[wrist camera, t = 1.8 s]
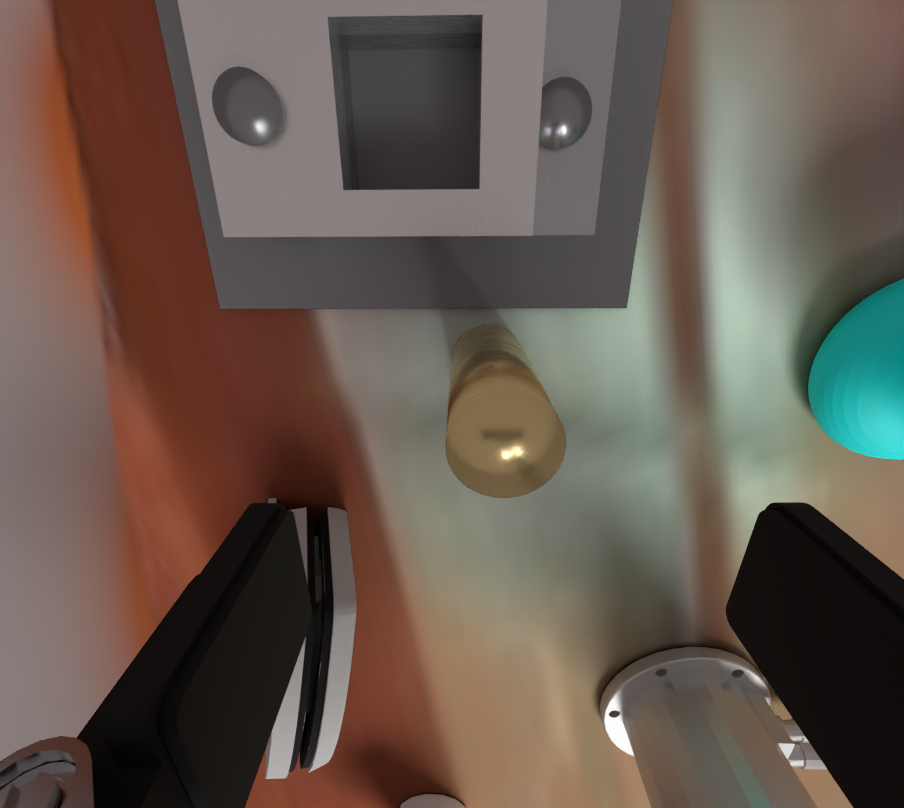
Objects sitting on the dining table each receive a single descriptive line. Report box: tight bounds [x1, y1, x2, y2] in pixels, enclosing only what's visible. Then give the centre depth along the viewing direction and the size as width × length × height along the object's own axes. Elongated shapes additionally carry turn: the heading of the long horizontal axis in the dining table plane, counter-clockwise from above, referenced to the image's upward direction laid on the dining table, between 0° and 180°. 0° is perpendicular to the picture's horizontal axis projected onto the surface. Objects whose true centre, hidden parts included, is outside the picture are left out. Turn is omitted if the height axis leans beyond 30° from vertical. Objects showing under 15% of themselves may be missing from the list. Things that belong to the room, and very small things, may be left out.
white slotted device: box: [265, 498, 356, 779], centre depth 27 cm, size 17×5×10 cm, turn 167°
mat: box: [155, 0, 673, 309], centre depth 19 cm, size 21×16×1 cm
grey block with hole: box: [177, 0, 621, 237], centre depth 17 cm, size 16×9×4 cm, turn 90°
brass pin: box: [446, 326, 566, 498], centre depth 19 cm, size 4×4×10 cm
